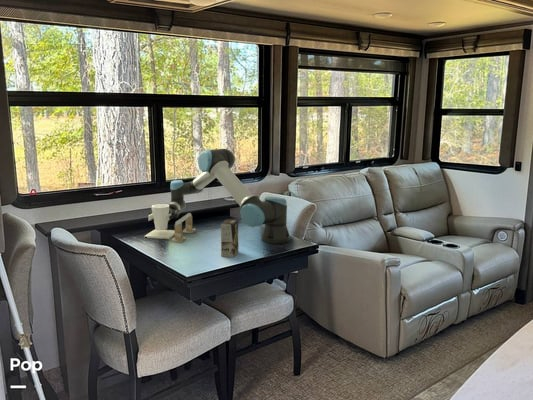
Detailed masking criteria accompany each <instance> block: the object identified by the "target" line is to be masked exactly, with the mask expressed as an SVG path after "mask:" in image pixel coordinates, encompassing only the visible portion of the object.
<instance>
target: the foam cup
mask: <svg viewBox="0 0 533 400" xmlns="http://www.w3.org/2000/svg"><path fill="white" fill-rule="evenodd" d="M151 212H153V223H154V228H155V230H168V226H169V224H168V223H169V221H166V216H167V215H169V205H168V204H166V203H164V204H163V203H161V204H160V203H158V204H157V203H156V204H152V205H151Z"/></svg>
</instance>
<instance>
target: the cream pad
mask: <svg viewBox="0 0 533 400" xmlns="http://www.w3.org/2000/svg"><path fill="white" fill-rule="evenodd" d="M145 237H147V238H146V239H162V240H163V239H164V240H170V239H172V238H173V237H175V229H173V230H172V229H166V230H156V229H153V230H152V231H150V232H148V233H146V234H145V235H144V238H145Z"/></svg>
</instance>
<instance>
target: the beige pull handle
mask: <svg viewBox="0 0 533 400" xmlns="http://www.w3.org/2000/svg"><path fill="white" fill-rule="evenodd" d="M174 230H175V235H174V236H173V237H172V238H171V242H174V243H175V242H177V243H183V242H185V241H186V239H187V238H186V236H185V237H183V233H184V234H194V233H195V232H196V228H193V215H191V216H190V217H189V218H187V219H186V220H185V228H184V229H183V222H182V223H180V224H179V225H176V223H174Z"/></svg>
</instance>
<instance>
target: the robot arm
mask: <svg viewBox="0 0 533 400" xmlns="http://www.w3.org/2000/svg"><path fill="white" fill-rule="evenodd" d="M235 161H236V158H235V155H234V153H233V152H232V151H231V150H230V149H228V148H218V149H217V148H216V149H215V148H214V149H204V150H202V151H201V152H200V153H199V155H198V160H197V164H198V168H199V169H200V171H201V173H200V174H199V175H197V177H195V178H194V179H193V180H191V181H188V182H184V181H183V180H181V179H180V180H179V179H176V180H175V179H174V180H172V181H171V182H170V195H171V196H170V203H168V204H167V205H169V215H167V216H166V221H168V222H169V221H170V220H171V219H178V217H179V215H180V214H181V212H182V211H184V210H185V208H186V206H187V205H186V204H187V203H186V201H185V199H184V198H185V197H184V196H187V195H193V194H194V195H195V194H199V193H202V192H204V189H205V187H206V186H208V185H209V184H210V183H212V181H214V180H215V179H217V181H218V182H219V183H220V185H222V186H223V187H224V189H225V190H226V191H227V193H229V195H230V196H231V197H232V198H233V200H235V202H236V203H237V204H238V205H239V211H240V213H239V214H240V216H241V217H240V218H241V221H242V222H243V223H244V224H245V225H246V226H248V227H252V228H254V227H261V226H262V225H264V227H263V230H262V233H261V241H262V242H264V243H268V244H284V243H288V242H289V241H290V240H291V238H290V237H291V235H290V233H289V230H288V227H287V225H288V223H287V222H288V221H287V219H288V218H287V217H288V215H287V214H288V213H287V212H288V202H287V199H286V198H284V197H279V196H265V197H264V200H261V198H259V196H257V194H256V195H253V194H252V193H251V191H250V190H249V189H248V188H247V187H246V185H244V184H243V182H242V181H241V180H240V179H239V178H238V177H237V176H236V174H235V173H234V172H233V171H232V170H231V168H233V166H234V165H235ZM147 217H148V218H147V219H148V222H149V221H152V220H154V218H153V212H152V211H149V212H148V216H147Z"/></svg>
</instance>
